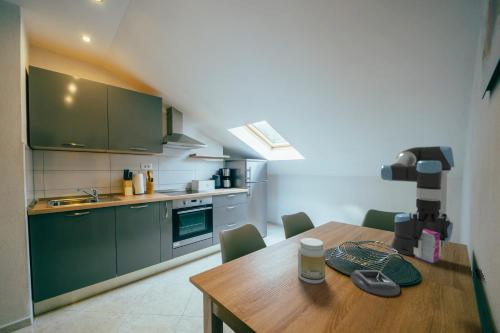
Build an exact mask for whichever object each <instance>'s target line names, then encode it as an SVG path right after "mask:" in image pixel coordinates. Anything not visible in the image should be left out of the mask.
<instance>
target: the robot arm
mask: <svg viewBox="0 0 500 333" xmlns="http://www.w3.org/2000/svg"><path fill="white" fill-rule="evenodd" d="M452 168H455V160H454V154H453V149H452V147H451V146H448V145H444V146H443V145H442V146H441V145H439V146H437V145H435V146H418V147H416V146H415V147H410V148H407V149H404V150H403V151H401V152H400V153H398V154H397V156H396V158H395V160H394V162H393V163H391V164H386V165H385V164H383V165H381V169H380V177H381V180H383V181H389V182H410V183H411V182H413V183H414V182H415V183H416V189H415V190H416V194H415V196H416V199H415V206H416V209H417V210H416V212H413V213H412V212H409V213H406V212H405V213H398V214H396V215H395V216H394V235H393V236H394V237H393V239H392V243H391V244H390V248H391V247H392V248H394V249H396V250H397V251H398V252H399V253H398V252H397V253H398V254H401V255H405V256H412V257H415V255H417V256H418V257H421V240H419V239H420V236H421V234H422V232H423V229H426V230H430V231H434V232H438V233H440V239H439V257H441V256H442V247H443V242H444V243H449V242H450V241H451V237H452V234H453V228H454V222H452V221H451V219H450V217H449V216H448V215H447V191H448V190H447V189H448V188H447V186H448V185H447V184H448V173H449V172H451V171H452Z"/></svg>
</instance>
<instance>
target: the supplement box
mask: <svg viewBox="0 0 500 333" xmlns="http://www.w3.org/2000/svg"><path fill="white" fill-rule="evenodd" d="M439 239H440V233H438V232H434V231H430V230H426V229H423V232H422V234H421V236H420V239H419V240H421V257H418V256H417V255H415V256H414V257H415V259H417V260H420V261H422V262H426V263H429V264H435V263H436V262H438V261H439V260H440V258H439Z"/></svg>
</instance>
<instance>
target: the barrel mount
mask: <svg viewBox="0 0 500 333" xmlns="http://www.w3.org/2000/svg"><path fill="white" fill-rule="evenodd" d="M378 273H379V280H380V281H382V282H377V279H376V276H377V275H378ZM350 281H351V282H352V284H354V285H355V286H356V287H357V288H359V289H360V290H362V291H364V292H366V293H369V294H372V295H375V296H379V297H387V298H390V297H392V298H393V297H397V296H398V295H400V293H401V287H400V285H399V283H397V281H395V280H394V279H393V278H391V277H389V276H388V275H385V274H384V273H382V272H381V271H380V270H377V269H376V270H375V269H362V270H361V269H355V270H354V271H353V272H351V273H350ZM396 283H397V284H396Z"/></svg>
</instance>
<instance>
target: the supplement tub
mask: <svg viewBox="0 0 500 333" xmlns="http://www.w3.org/2000/svg"><path fill="white" fill-rule="evenodd" d="M324 246H325V245H324V242H323V240H320V239H318V238H313V237H303V238H301V239H300V243H299V246H298V249H297V253H298V254H297V275H298V277H299V278H300V280H302V281H304V282H305V283H308V284H320V283H322V282H324V281H325V278H326V250H325V248H324Z"/></svg>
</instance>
